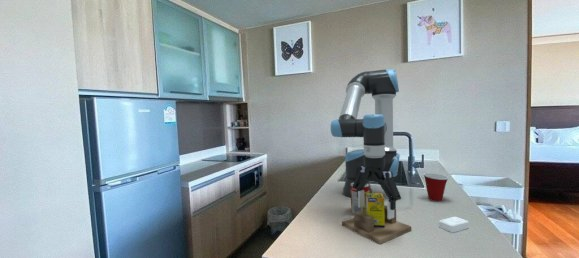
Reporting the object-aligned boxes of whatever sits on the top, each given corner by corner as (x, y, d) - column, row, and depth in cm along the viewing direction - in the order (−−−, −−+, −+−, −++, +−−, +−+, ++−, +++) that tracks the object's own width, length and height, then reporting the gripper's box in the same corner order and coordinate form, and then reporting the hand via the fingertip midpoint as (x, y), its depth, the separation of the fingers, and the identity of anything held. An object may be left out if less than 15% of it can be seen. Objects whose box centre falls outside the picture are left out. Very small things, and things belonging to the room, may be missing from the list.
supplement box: (385, 227, 94) (384, 198, 93) (367, 227, 95) (367, 197, 94) (382, 221, 99) (382, 193, 99) (366, 220, 101) (365, 192, 100)
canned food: (371, 209, 116) (370, 182, 115) (367, 215, 109) (367, 187, 108) (353, 207, 119) (353, 181, 119) (349, 213, 112) (348, 185, 112)
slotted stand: (342, 225, 100) (341, 208, 100) (372, 215, 109) (371, 200, 109) (380, 244, 85) (379, 224, 85) (411, 230, 94) (411, 213, 93)
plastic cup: (451, 204, 118) (451, 178, 118) (424, 202, 122) (424, 177, 122) (446, 196, 128) (446, 173, 128) (422, 195, 133) (422, 171, 132)
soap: (455, 223, 99) (455, 215, 99) (469, 228, 94) (469, 220, 94) (438, 227, 96) (438, 219, 96) (452, 233, 91) (452, 225, 91)
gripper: (343, 153, 104) (344, 204, 106) (397, 162, 83) (398, 226, 84) (356, 151, 108) (357, 200, 110) (411, 159, 87) (412, 220, 88)
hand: (375, 212), depth 97 cm, fingers open, 13 cm apart
